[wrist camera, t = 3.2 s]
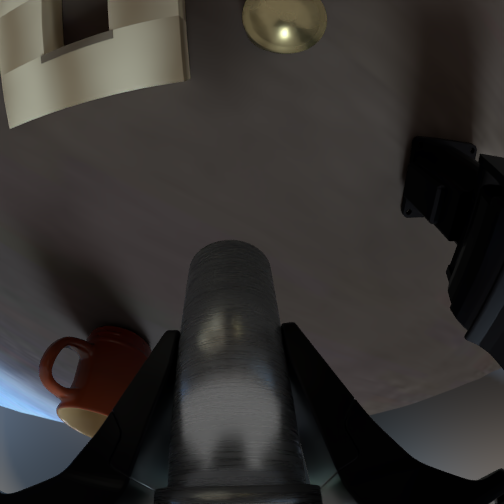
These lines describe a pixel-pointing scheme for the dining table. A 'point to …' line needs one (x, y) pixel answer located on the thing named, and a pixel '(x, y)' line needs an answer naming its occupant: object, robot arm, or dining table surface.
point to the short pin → (284, 24)
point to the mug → (95, 375)
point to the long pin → (233, 389)
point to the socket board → (87, 54)
